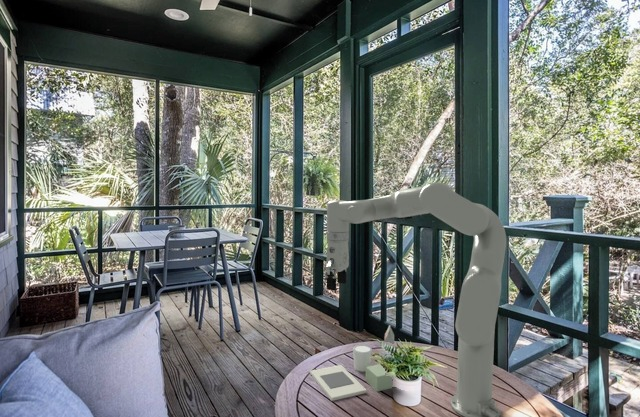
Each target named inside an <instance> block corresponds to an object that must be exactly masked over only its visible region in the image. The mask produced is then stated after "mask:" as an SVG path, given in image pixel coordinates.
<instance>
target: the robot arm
mask: <svg viewBox="0 0 640 417" xmlns="http://www.w3.org/2000/svg"><path fill="white" fill-rule="evenodd" d="M326 205H327V206H326V242H327V248H326V266H325V271H326V272H325V274H326V276H325V278H326V290H328V291H329V290H330V291H336V290H337V283H338V284H347V271H348V268H349V267H350V254H349V242H350V241H349V240H350V239H349V238H350V235H349V234H350V232H349V231H350V224H363V223H367V222H373V221H377V220H378V221H379V220H383V219H390V218H398V219H399V218H400V219H401V218H408V217H414V216H419V215H420V216H421V215H426V214H430V215H433V216H434V217H435V218H437V219H438V220H440V221H442V222H444V223H445V224H446V225H448V226H450V227H451V228H453V229H454V230H456V231H458V232H459V233H462V234H464V235H467V236H470V237H471V236H472V237H473V244H472V250H471V256H470V263H469V268H468V270H467V273H466V275H465V277H464V279H463V282H462V283H461V284H462V285H461V289H460V295H459V302H458V305H457V306H458V307H457V311H456V317H455V318H456V319H455V323H454V324H455V325H454V326H455V331H456V334H457V336H458V343H457V346H458V347H457V368H456V369H457V370H456V371H457V374H456V393H455V394H454V395H453V396H451V399H450V406H451V407H452V409H453V411H455V412H456V413H457V414H458V415H460V416H462V417H500V416H501V415H502V410H501V409H499V408H497V406H496V400H495V399H494V398H493V378H494V377H493V376H494V372H493V371H494V355H495V354H494V351H495V331H496V330H495V329H496V322H497V317H498V311H499V306H500V301H501V294H502V275H503V268H504V261H505V254H506V249H507V248H506V247H507V235H506V230H505V227H504V224H503V222H502V220H501V219H500V217H499V216H498V215H497V214H496V212H494V211H493V210H491V209H490V208H488V207H487V206H486V205H484V204H482V203H476V202H472V201H471V200H469V199H467V198H466V197H463V196H462V195H460V194H459V193H457V192H455V191H454V190H453V189H452V187H450V186H449V185H448V184H447V183H444V182H437V181H436V182H431V183H428V184H424V185H422V186H421V185H420V186H416V187H411V188H406V189H400V190H397V191H394V192H393V193H391V194H389V195H384V196H380V197H375V198H370V199H369V198H368V199H359V200H358V199H356V200H351V201H347V200H337V199H335V200H329V201H328V202H327V203H326ZM336 275H337V277H336Z"/></svg>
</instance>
